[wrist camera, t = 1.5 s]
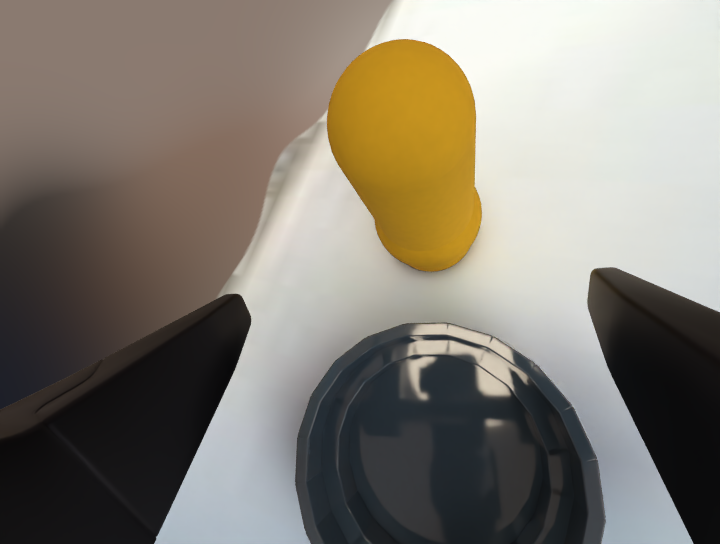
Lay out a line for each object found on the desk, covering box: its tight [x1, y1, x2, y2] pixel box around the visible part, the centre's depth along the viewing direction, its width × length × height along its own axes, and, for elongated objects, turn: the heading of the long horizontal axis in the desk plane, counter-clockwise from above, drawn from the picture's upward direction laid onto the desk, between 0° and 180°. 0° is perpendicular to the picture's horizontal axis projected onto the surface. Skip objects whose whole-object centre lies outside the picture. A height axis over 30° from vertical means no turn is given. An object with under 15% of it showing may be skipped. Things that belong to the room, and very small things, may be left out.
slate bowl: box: [295, 323, 606, 544], centre depth 17 cm, size 13×13×4 cm
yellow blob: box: [327, 39, 482, 272], centre depth 16 cm, size 6×6×14 cm
